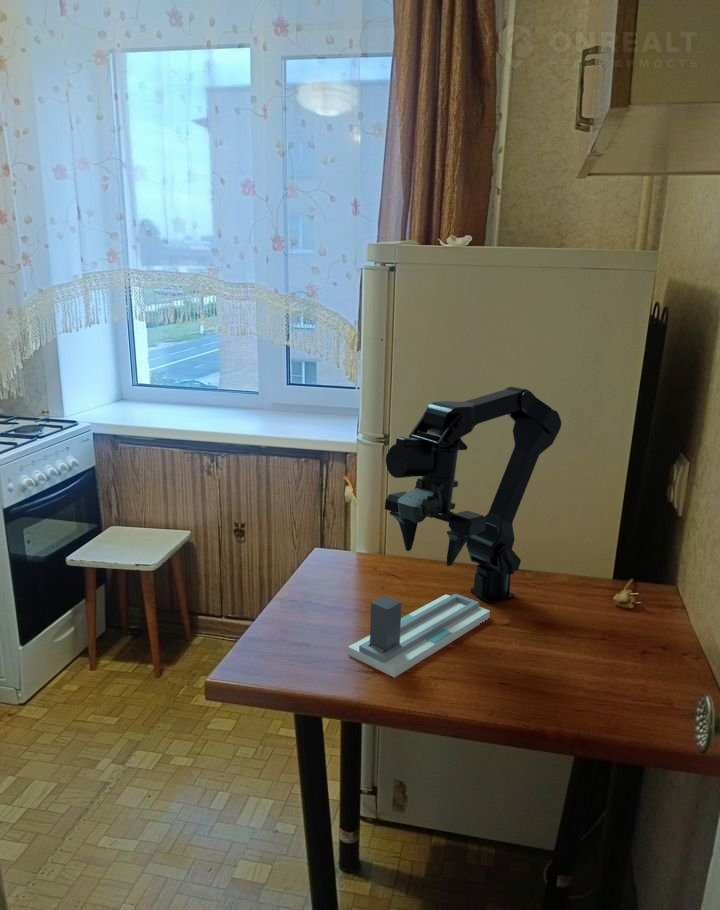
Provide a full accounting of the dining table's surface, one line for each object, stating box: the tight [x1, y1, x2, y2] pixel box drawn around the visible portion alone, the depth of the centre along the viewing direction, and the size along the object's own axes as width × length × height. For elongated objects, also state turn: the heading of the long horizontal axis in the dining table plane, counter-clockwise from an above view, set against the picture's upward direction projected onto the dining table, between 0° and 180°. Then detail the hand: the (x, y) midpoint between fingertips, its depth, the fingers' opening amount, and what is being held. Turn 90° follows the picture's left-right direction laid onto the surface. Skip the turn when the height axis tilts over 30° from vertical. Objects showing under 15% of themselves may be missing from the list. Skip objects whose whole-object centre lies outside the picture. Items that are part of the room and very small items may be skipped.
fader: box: [369, 595, 402, 653], centre depth 119 cm, size 4×4×8 cm
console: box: [347, 593, 491, 679], centre depth 128 cm, size 28×10×2 cm, turn 138°
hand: (428, 557), depth 132 cm, fingers open, 9 cm apart
